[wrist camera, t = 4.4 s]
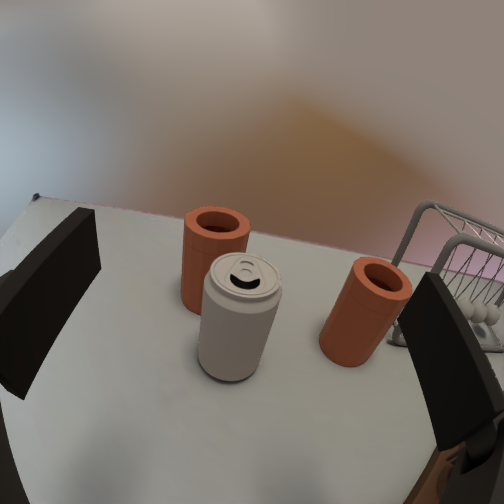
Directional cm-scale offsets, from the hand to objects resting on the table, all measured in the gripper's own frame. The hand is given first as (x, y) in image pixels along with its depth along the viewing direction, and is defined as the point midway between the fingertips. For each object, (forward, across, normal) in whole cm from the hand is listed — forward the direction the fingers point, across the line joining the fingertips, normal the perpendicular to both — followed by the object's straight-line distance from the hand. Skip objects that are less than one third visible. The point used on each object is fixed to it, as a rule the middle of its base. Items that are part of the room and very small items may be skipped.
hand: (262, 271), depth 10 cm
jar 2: (+14, +14, -20) cm, 28 cm away
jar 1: (+19, -3, -20) cm, 27 cm away
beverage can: (+10, 0, -20) cm, 22 cm away
